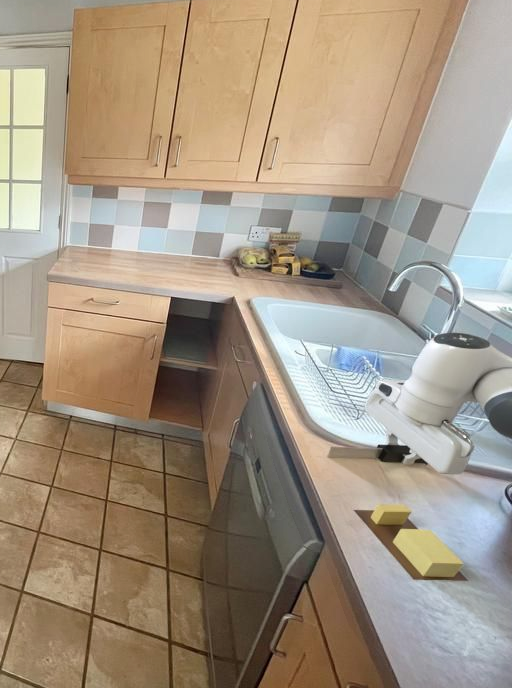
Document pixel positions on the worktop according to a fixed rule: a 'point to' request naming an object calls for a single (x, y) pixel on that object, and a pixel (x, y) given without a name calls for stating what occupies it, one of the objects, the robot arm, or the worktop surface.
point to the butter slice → (390, 514)
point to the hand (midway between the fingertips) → (397, 455)
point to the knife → (373, 453)
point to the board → (387, 537)
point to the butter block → (427, 553)
